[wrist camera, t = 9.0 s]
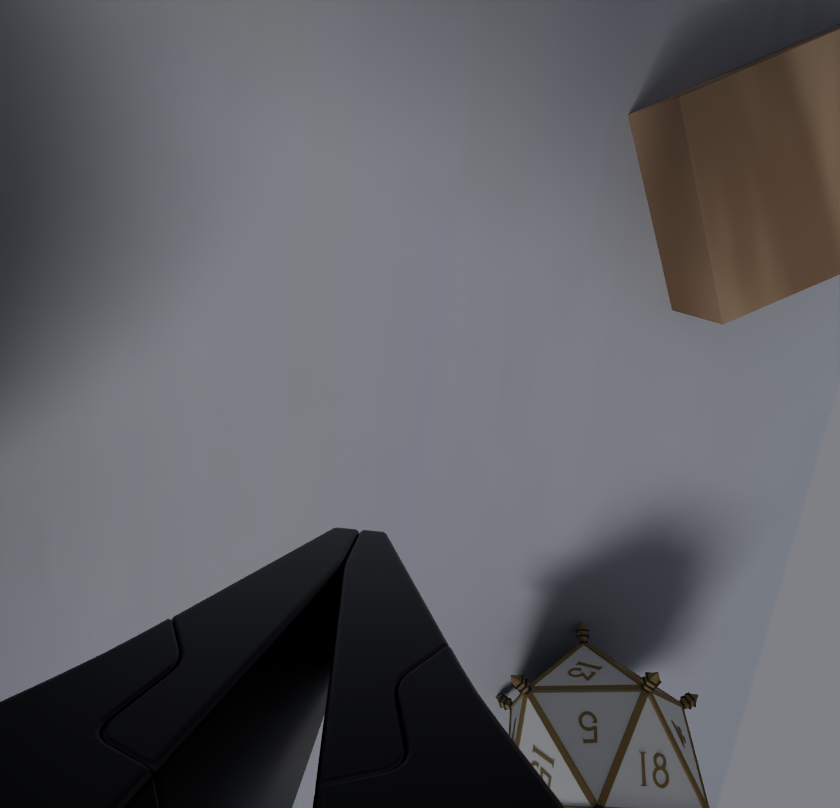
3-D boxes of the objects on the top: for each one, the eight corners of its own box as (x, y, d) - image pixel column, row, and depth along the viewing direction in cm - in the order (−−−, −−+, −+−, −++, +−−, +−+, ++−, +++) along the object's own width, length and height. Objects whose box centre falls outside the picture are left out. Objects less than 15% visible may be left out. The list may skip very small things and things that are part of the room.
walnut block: (722, 324, 18) (947, 228, 18) (678, 97, 16) (938, -13, 16) (669, 309, 21) (863, 226, 21) (625, 115, 19) (845, 21, 19)
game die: (561, 598, 29) (786, 680, 22) (532, 767, 28) (756, 908, 21) (449, 608, 23) (715, 728, 16) (409, 827, 22) (669, 1057, 15)
